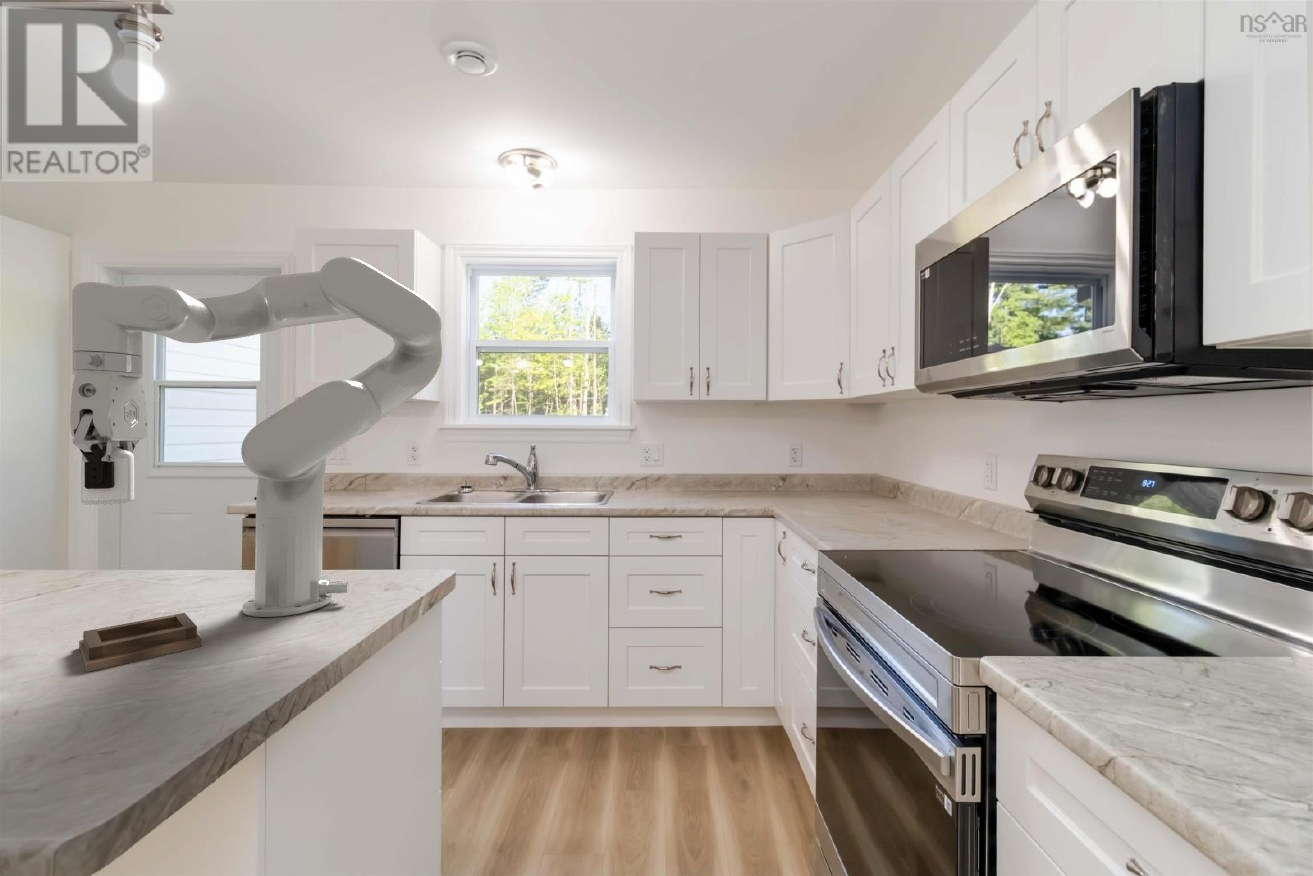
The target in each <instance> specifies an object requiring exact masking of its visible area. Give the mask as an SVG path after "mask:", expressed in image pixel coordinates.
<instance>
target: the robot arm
mask: <svg viewBox="0 0 1313 876" xmlns="http://www.w3.org/2000/svg"><path fill="white" fill-rule="evenodd" d="M352 319H353V320H355V319H360V320H362V321H364V322H365V323H366V324H369V325H370V326H372V327H374V328H376V329H377V330H379V331H381V332H383V333H385V334H386V335H388V336H389V337H391V338H392V340H393V342H394V343H393V344H394V346H393V349H392V350H391V352H390V353H389V354H387V355H386V356H385V357H382V358H380V359H379V360H377V361H375V362H374V363H372V364H371V365H370V366H368V367H367V368H365V369H364V370H362V371H361V372H359V373H357V374H356V375H354V376H353V377H351V378H348V379H335V380H331V381H328V382H325V383H322V384H321V385H318V386H316V387H315V388H313V389H311V390H309V391H308V392H306V393H304V394H303V395H302V396H300V397H299V398H297V399H295V400H293V401H292V402H291V403H289V404H288V405H286V406H284V407H283V408H281V409H280V410H278V411H276V412H275V413H273V414H272V415H270V416H269V417H267V418H266V419H264V420H262V421H260V422H259V423H257V424H256V425H255V426H253V427H252V428H251V429H250V430H249V431H248V432H247V434H246V435H245V437H244V438H243V440H242V443H241V448H240V449H241V450H240V453H241V458H242V461H243V463H244V466H245V467H246V468H247V469H248V470H249V471H250V472H251V473H252V474H254V475H255V476H257V477H258V478H257V485H256V486H257V487H256V488H257V489H256V497H255V498H256V500H255V538H254V539H255V541H254V543H255V544H254V545H255V548H254V549H255V552H254V553H255V554H254V555H255V556H254V557H255V558H254V597H252V598H250V599H248V600H246V601H245V602H243V604H242V613H243V614H244V615H247V616H250V617H256V618H257V617H258V618H269V617H270V618H272V617H273V618H274V617H284V616H292V615H297V614H298V615H299V614H303V613H307V612H311V611H314V610H319V609H320V608H323V607H324V606H326V605H328V604H330V603H331V602H332V601H333V594H336V595H337V594H349V592H350V585H351V584H350V581H346V580H345V579H342V580H341V579H339V580H331V579H328V573H327V572H325V573H324V572H323V549H324V548H323V546H324V545H323V543H324V542H323V541H324V540H323V537H324V526H323V525H324V495H325V492H324V491H325V477H326V465H327V456H329V455H331V454H332V453H334V452H335V451H337V450H338V449H339V448H342V447H343V446H344V445H345V444H348V443H349V442H350V441H352V440H353V439H355V438H356V437H358V436H361V435H363V434H365V433H367V432H368V431H369V430H370V429H372V427H374V426H375V425H376V424H377V423H379V422H380V421H381V420H382V419H384V418H385V417H387V416H388V415H390V414H391V413H392V412H394V411H395V410H397V409H398V408H399V407H401V406H402V405H403V404H405V403H407V402H408V401H409V400H411V399H412V398H413V397H414V396H416V395H417V394H419V393H420V392H421V391H422V390H424V389H425V388H426V387H427V386H428V385H429V384H430V383H431V382H432V381H433V379H434V378H435V376H436V375H437V373H438V371H439V369H440V366H441V363H442V356H443V348H442V346H443V345H442V336H441V334H442V319H441V316H440V314H439V312H438V310H437V308H436V307H435V306H434V305H433V304H432V303H430V302H429V301H428V299H425V298H424V297H422V296H420V295H419V294H418V293H416V292H414V291H413V290H410V289H409V288H408V287H406V286H404V285H402V284H401V283H399V282H397V281H396V280H394V279H392V277H390V276H388V275H386V274H384V273H383V272H381V271H379V270H378V269H377V268H375V267H373V266H372V265H370V264H368V263H367V262H364V261H363V260H360V259H358V258H355V257H350V256H340V257H335V258H332V259H330V260H328V261H327V262H326V263H325V262H324V264H323V265H322V266H321V268H320V270H318V271H308V272H307V271H306V272H296V273H295V272H294V273H287V274H286V273H285V274H274V275H268V276H265V277H263V278H261V279H260V280H259V281H258V282H257V283H255V284H254V286H251V288H249V289H247V290H244V291H242V292H238V293H234V294H228V295H221V296H213V297H201V298H200V297H199V298H194V297H193V296H191V295H189V294H187V293H185V292H184V291H181V290H180V289H177V288H174V287H171V286H168V285H162V284H161V285H160V284H156V285H155V284H152V285H151V284H148V285H147V284H145V285H144V284H143V285H119V284H112V283H107V282H96V281H86V282H85V281H84V282H79V283H77V284H76V285H74V286H73V288H72V290H71V334H72V335H71V339H72V340H71V344H72V345H71V347H72V348H71V351H72V352H71V355H72V357H71V358H72V360H71V361H72V362H71V363H72V365H71V366H72V368H71V369H72V370H71V371H72V372H71V373H72V375H74V378H73V383H72V389H71V395H70V396H71V397H70V408H69V409H70V414H69V416H70V417H69V423H70V433H71V436H72V437H73V438H72V444H73V445H74V446H75V447H76V448H78V449H79V451H80V453H81V454H82V455H81V458H82V460H83V462H85V488H86V489H109V488H113V487H114V462H109V461H110V460H111V451H112V441H120V446H117V448H120V449H123V450H127V451H129V452H131V453H133V454H134V449H136V446H137V445H138V443H139V442H140V441H142V440H144V439H146V437H148V414H147V404H146V403H147V402H146V394H145V389H144V385H143V380H142V379H143V332H144V333H145V332H146V333H150V334H154V335H158V336H161V337H165V338H169V339H171V340H173V341H176V342H181V343H186V344H202V343H211V342H219V341H225V340H235V339H240V338H245V337H246V338H247V337H251V336H255V335H261V334H265V333H269V332H274V331H278V330H281V329H284V328H292V327H298V326H306V325H314V324H321V323H329V322H336V321H345V320H352ZM97 438H104V440H97ZM99 445H102V449H101V448H100V446H99Z"/></svg>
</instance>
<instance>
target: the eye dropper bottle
mask: <svg viewBox="0 0 1313 876" xmlns="http://www.w3.org/2000/svg"><path fill="white" fill-rule="evenodd" d="M97 440H104V438H97ZM99 446H100V448H101V449H102V445H99ZM117 446H120V441H112V451H111V460H110V461H109V462H114V487H113V488H109V489H86V488H85V462H83V460H82V457H81V459H80V460H81V461H80V462H81V463H80V464H81V465H80V470H81V471H80V495H81V496H80V497H81V498H80V500H81V504H83V505H87V506H95V505H117V504H128V503H130V502H133V501H135V456H134V452H133V453H131V452H129V451H127V450H123V449H120V448H117Z"/></svg>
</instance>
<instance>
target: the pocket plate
mask: <svg viewBox="0 0 1313 876" xmlns="http://www.w3.org/2000/svg"><path fill="white" fill-rule="evenodd" d="M82 632H83V633H82V639H79V641H78V649H79V652H80V655H81V659H82V663H83V665H84V669H85V672H86V673H88V672H89V673H90V672H94V671H98V670H101V669H102V668H103V669H106V668H110V667H114V666H119V665H120V666H121V665H124V664H128V663H134V662H137V661H142V659H143V660H146V659H151V657H152V658H155V657H159V656H160V655H161V656H165V655H168V654H173V653H177V652H183V651H187V650H191V649H192V650H193V649H195V648H200V647H202V646H203V642H202V641H203V638H201V636H200V635H199V634H198V626H197V625H196V624H195V622H194V621H193V620H192V619H191V618H190V617H189V616H188V614H186V613H185V612H182V613H181V612H180V613H176V614H171V615H170V614H169V615H165V616H160V617H155V618H149V619H144V620H139V621H133V622H132V621H131V622H127V623H122V624H116V625H110V626H105V627H100V628H99V627H98V628H95V629H89V630H83V631H82ZM182 650H183V651H182ZM97 669H98V670H97Z"/></svg>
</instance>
